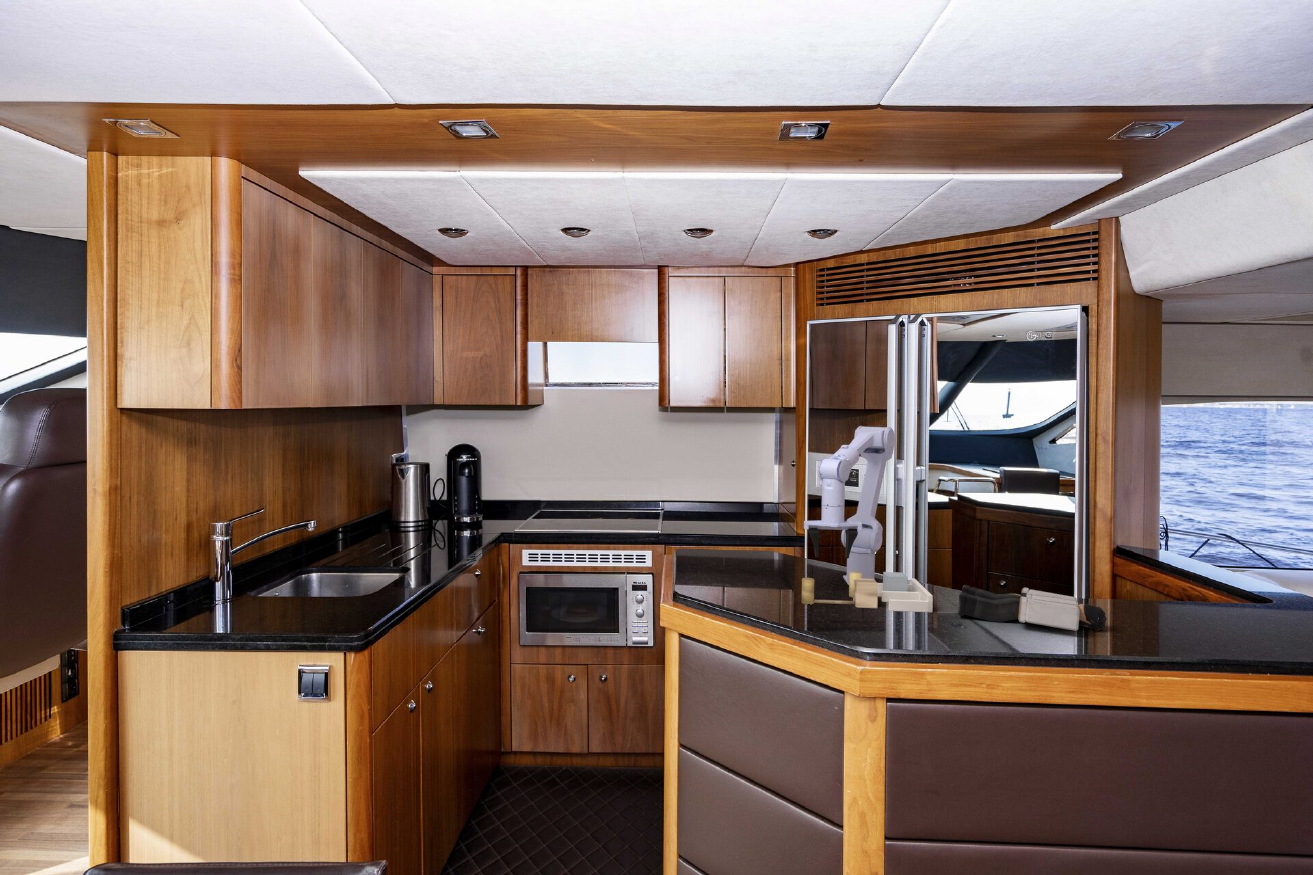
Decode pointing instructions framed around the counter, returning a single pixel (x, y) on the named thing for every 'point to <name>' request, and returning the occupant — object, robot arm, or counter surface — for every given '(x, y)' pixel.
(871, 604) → the beige long piece
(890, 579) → the grey handled block
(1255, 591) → the counter surface
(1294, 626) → the counter surface
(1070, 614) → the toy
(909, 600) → the rack
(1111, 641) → the counter surface
